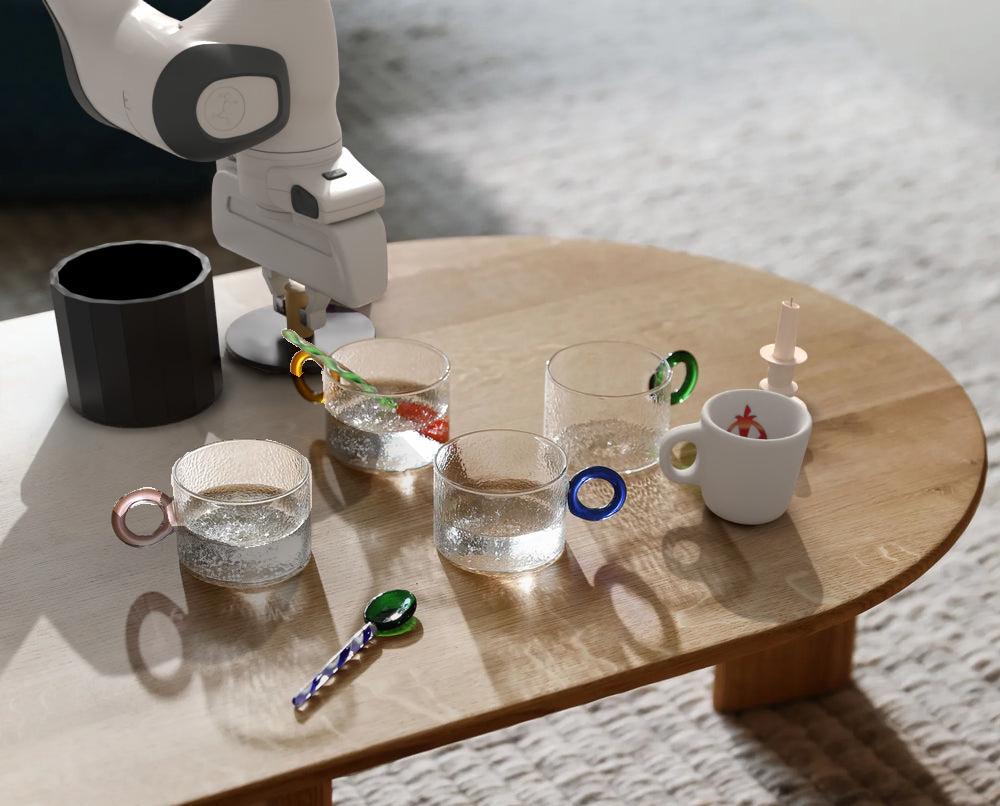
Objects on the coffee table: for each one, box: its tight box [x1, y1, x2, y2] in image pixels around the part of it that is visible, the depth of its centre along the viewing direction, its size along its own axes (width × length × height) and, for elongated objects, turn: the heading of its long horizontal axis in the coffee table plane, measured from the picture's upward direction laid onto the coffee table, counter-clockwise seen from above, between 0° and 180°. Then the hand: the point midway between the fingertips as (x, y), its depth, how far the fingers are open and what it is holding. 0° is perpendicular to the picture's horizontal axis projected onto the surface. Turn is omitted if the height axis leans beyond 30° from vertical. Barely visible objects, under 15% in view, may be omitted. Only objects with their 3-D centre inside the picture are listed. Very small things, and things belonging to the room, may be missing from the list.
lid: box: [224, 281, 377, 374], centre depth 125 cm, size 13×13×6 cm
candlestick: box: [758, 297, 808, 410], centre depth 115 cm, size 5×5×10 cm
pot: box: [48, 239, 224, 429], centre depth 115 cm, size 13×13×11 cm
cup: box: [658, 388, 813, 526], centre depth 103 cm, size 11×8×8 cm
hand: (300, 319), depth 125 cm, fingers closed on lid, 2 cm apart
